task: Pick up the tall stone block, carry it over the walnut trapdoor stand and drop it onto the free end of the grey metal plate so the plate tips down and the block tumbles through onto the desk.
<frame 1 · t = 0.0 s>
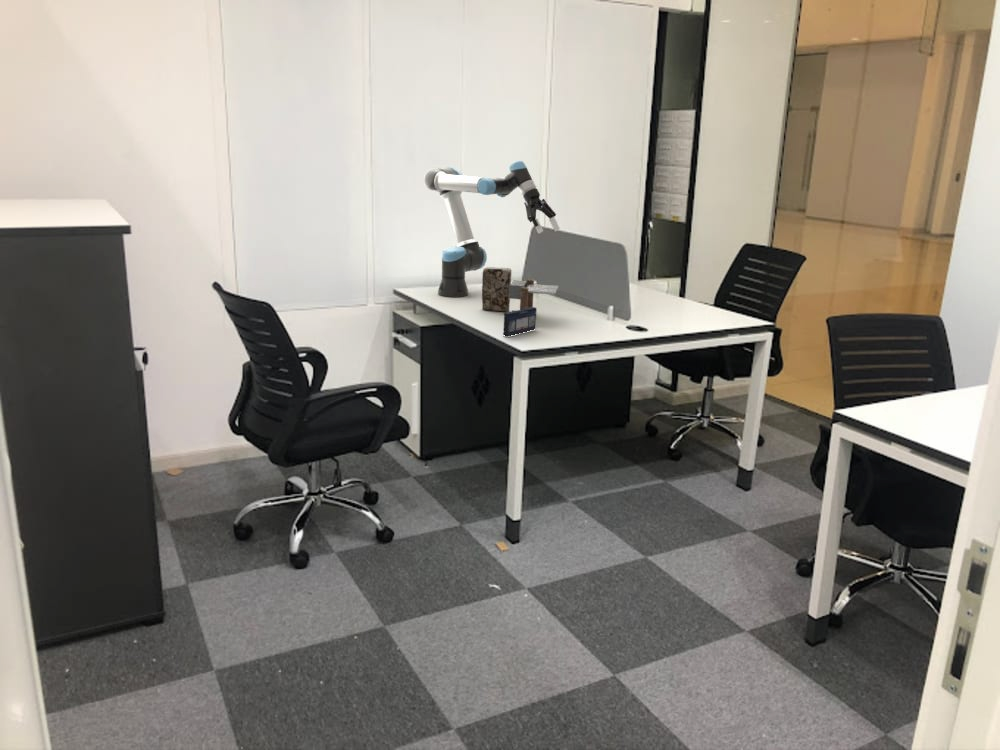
hand: (549, 231, 377), 36 cm above the table, tool tilted 35°, fingers open, 13 cm apart
trapdoor plate: (534, 290, 356), point 13 cm above the table, hinge at 0.0°
vhs cassette tape: (519, 334, 335), on the table
stone block: (495, 310, 374), on the table
trapdoor stand: (525, 318, 360), on the table
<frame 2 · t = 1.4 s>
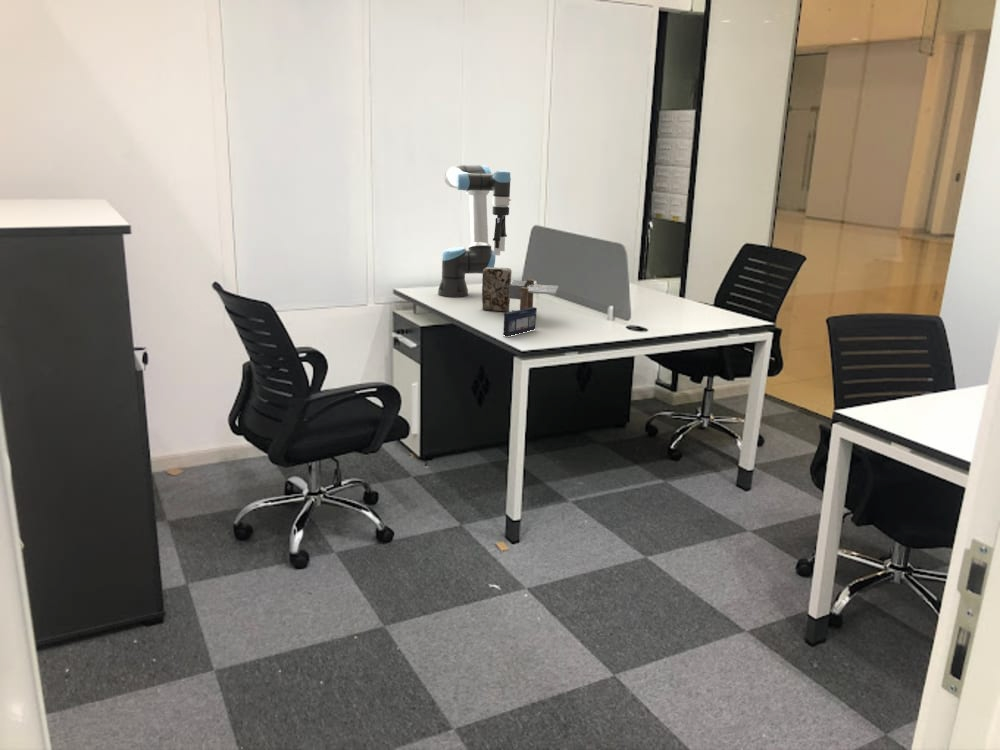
hand: (499, 253, 366), 27 cm above the table, tool pointing down, fingers open, 13 cm apart
nothing on the table moved.
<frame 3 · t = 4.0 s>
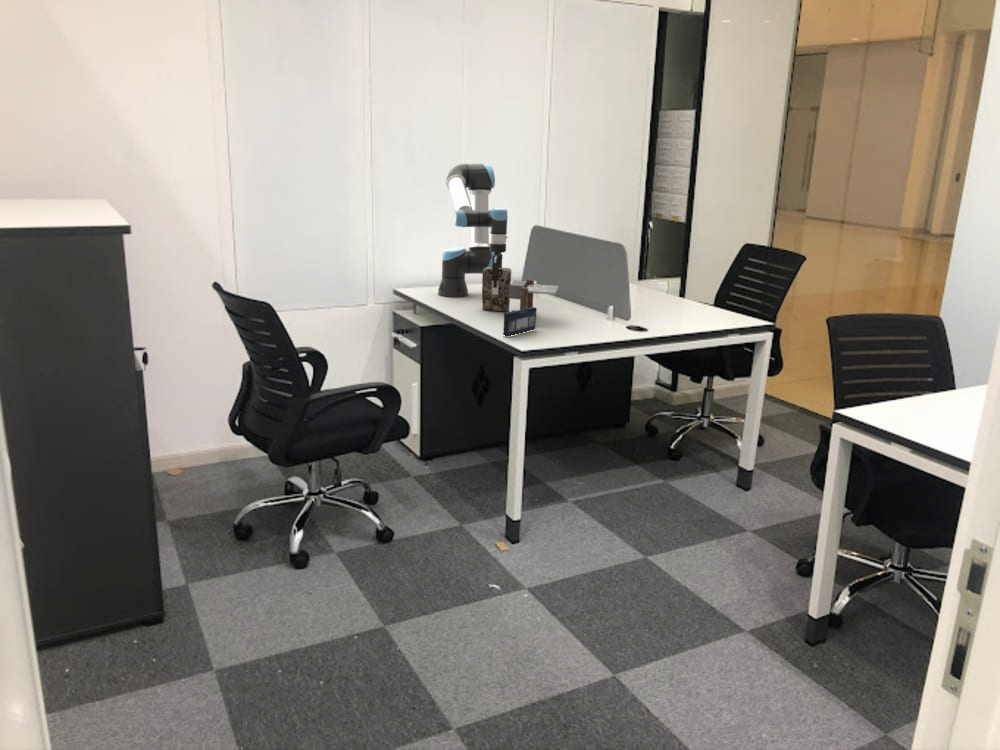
hand: (496, 292, 371), 8 cm above the table, tool pointing down, fingers closed on stone block, 6 cm apart
stone block: (495, 310, 374), on the table, touching gripper
everything else where it was.
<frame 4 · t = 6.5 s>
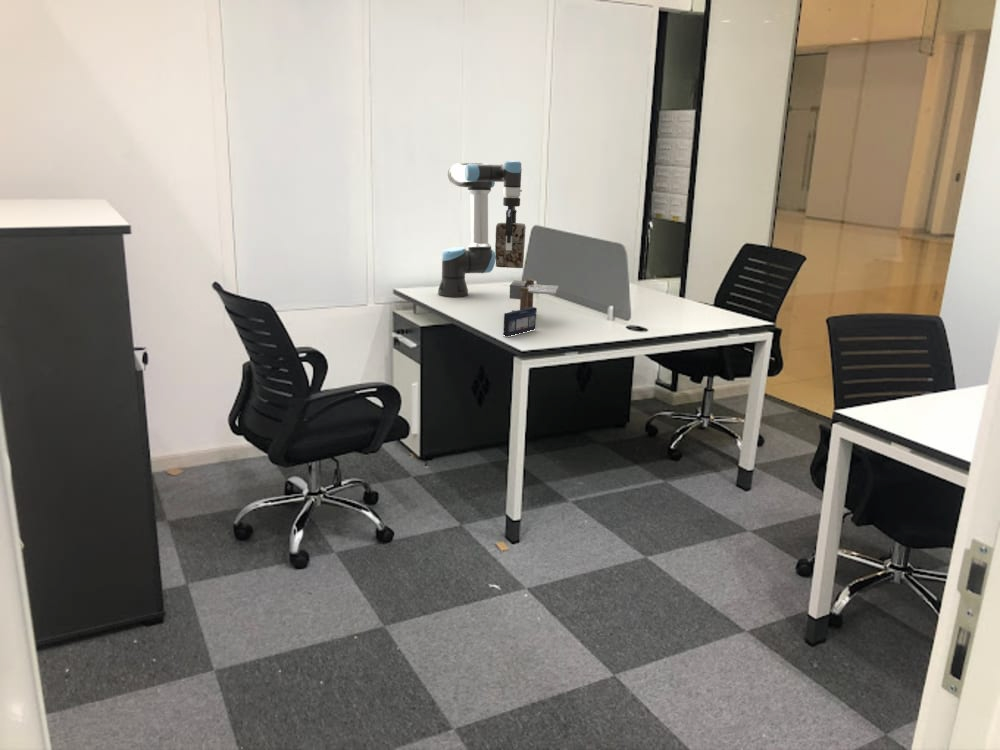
hand: (509, 249, 361), 30 cm above the table, tool pointing down, fingers closed on stone block, 6 cm apart
stone block: (509, 267, 363), point 21 cm above the table, touching gripper
everything else where it was.
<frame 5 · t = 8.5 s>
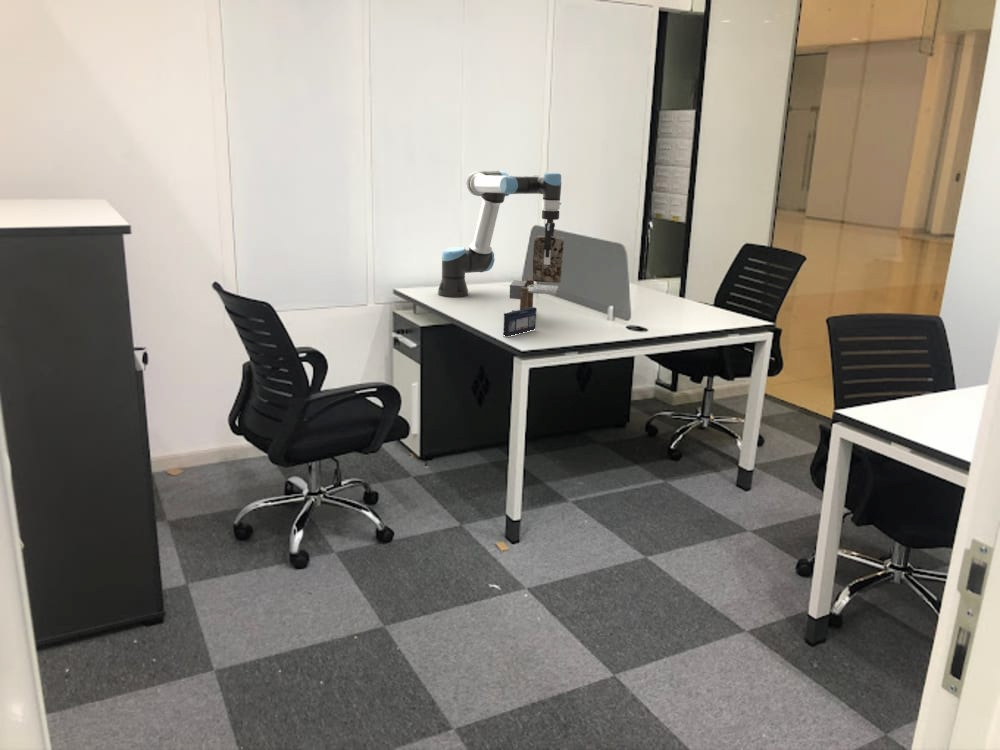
hand: (547, 263, 351), 26 cm above the table, tool pointing down, fingers closed on stone block, 6 cm apart
stone block: (546, 282, 354), point 17 cm above the table, touching gripper
everything else where it was.
when the fingers open (26 cm above the table, at t = 8.8 s): stone block drops 11 cm, point 6 cm above the table.
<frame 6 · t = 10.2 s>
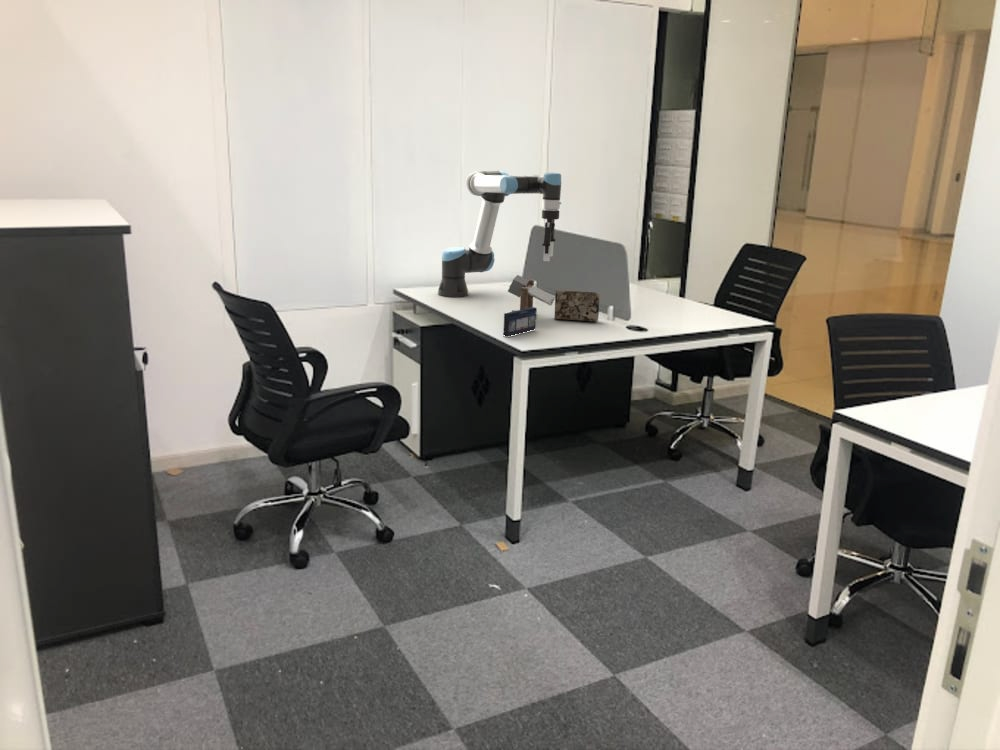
hand: (548, 258, 351), 28 cm above the table, tool pointing down, fingers open, 13 cm apart
trapdoor plate: (532, 293, 356), point 12 cm above the table, hinge at -23.4°
stone block: (554, 304, 360), point 6 cm above the table
everything else where it was.
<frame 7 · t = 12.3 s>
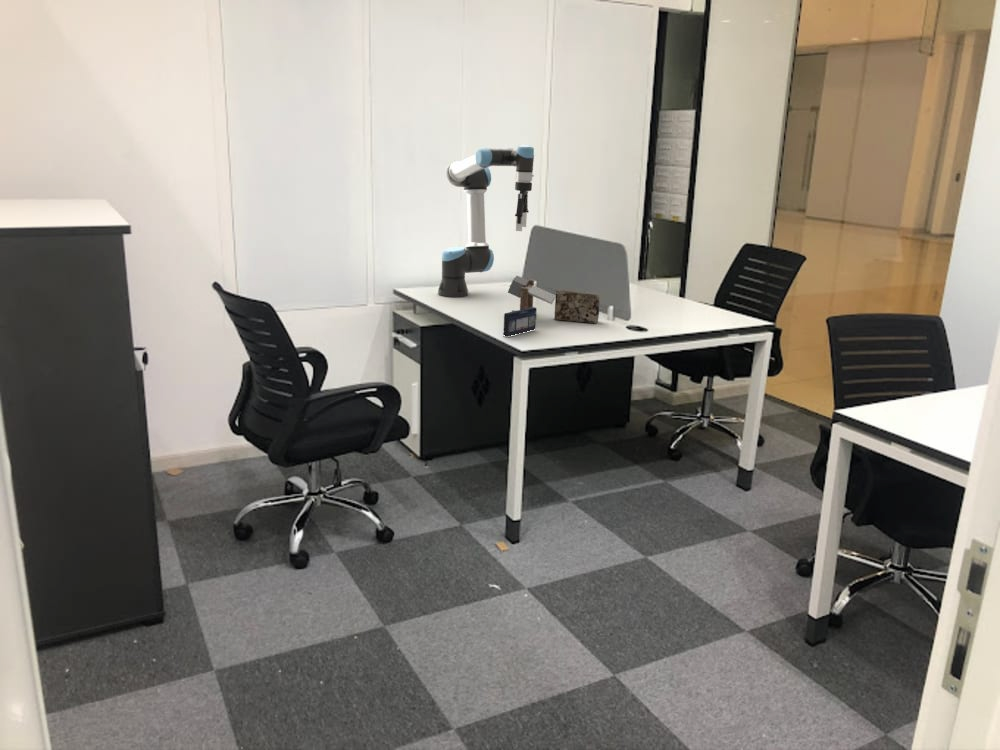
hand: (521, 228, 367), 38 cm above the table, tool pointing down, fingers open, 13 cm apart
trapdoor plate: (532, 292, 356), point 12 cm above the table, hinge at -20.0°, touching stone block
stone block: (554, 304, 360), point 7 cm above the table, touching trapdoor plate
everything else where it was.
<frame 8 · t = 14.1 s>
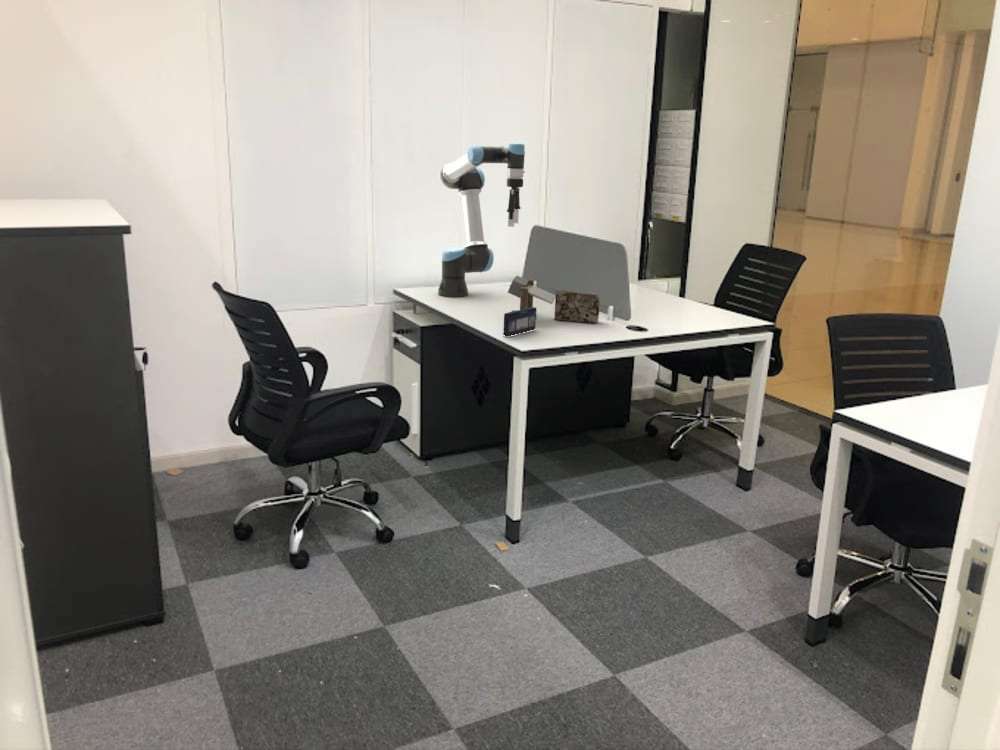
hand: (513, 224, 372), 39 cm above the table, tool pointing down, fingers open, 13 cm apart
nothing on the table moved.
at the end: stone block point 6.6 cm above the table; stone block inside the target area (13.1 cm from its centre), point 6.6 cm above the table; the gripper is holding nothing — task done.
